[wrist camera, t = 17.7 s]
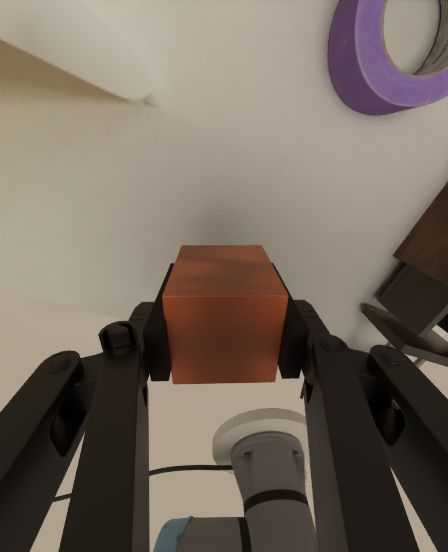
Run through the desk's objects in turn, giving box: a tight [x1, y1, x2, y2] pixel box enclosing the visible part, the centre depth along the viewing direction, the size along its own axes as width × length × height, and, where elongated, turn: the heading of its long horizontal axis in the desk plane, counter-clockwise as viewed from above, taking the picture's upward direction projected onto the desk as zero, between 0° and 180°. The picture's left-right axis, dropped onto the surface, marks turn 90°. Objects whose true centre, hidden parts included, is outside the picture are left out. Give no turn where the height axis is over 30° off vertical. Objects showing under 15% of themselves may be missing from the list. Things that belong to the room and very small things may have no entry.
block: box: [162, 245, 289, 384], centre depth 13 cm, size 5×5×6 cm
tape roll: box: [328, 0, 448, 115], centre depth 19 cm, size 12×12×5 cm
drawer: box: [361, 264, 448, 368], centre depth 30 cm, size 21×11×8 cm, turn 159°
